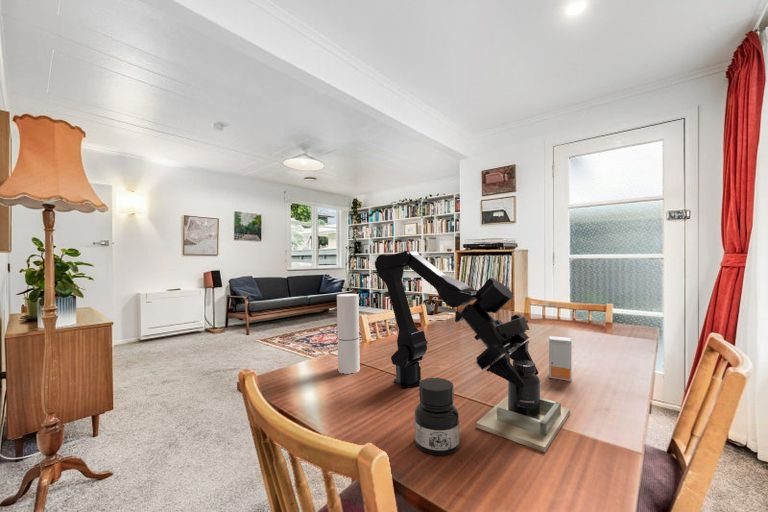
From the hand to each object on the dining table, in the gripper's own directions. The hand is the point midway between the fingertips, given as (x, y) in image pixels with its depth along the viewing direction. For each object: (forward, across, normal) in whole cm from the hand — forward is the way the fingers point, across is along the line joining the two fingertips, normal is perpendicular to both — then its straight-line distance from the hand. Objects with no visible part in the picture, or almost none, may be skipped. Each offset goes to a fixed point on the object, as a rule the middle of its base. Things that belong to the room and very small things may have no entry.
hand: (530, 380), depth 73 cm
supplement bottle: (+5, 0, +7) cm, 9 cm away
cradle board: (+6, 0, +8) cm, 9 cm away
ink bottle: (-2, -21, +15) cm, 26 cm away
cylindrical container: (-33, -4, +47) cm, 58 cm away
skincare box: (+6, +33, +8) cm, 34 cm away
